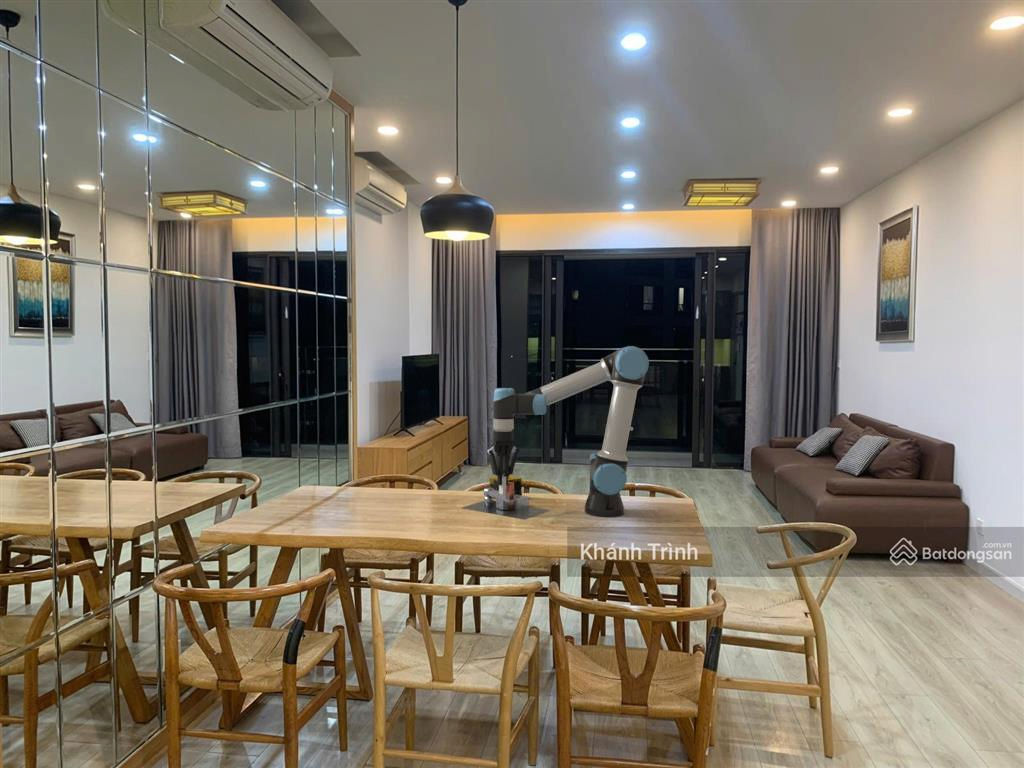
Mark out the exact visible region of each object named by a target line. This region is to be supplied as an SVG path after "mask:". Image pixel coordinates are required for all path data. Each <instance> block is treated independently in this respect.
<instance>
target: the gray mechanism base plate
mask: <svg viewBox="0 0 1024 768" xmlns="http://www.w3.org/2000/svg"><path fill="white" fill-rule="evenodd" d="M514 498H515V509H512V510H502V509H499V508H497V507H496V500H494V498H493V497H492V496H485V495H484V500H483V501H479V502H477V503H476V502H475V503H472V504H470V505H466V506H462V507H461V509H463V510H469V511H474V512H475V511H476V512H480V513H484V514H491V515H496V516H501V517H507V518H512V519H517V520H518V519H520V520H524V521H525V520H528V519H531V518H533V517H537V516H540V515H541V514H544V513H547V512H550V511H551V509H546V508H539V507H533V506H529V505H530V496H527V495H523V494H522V495H516V494H514Z"/></svg>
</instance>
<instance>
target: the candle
mask: <svg viewBox="0 0 1024 768" xmlns="http://www.w3.org/2000/svg"><path fill="white" fill-rule="evenodd" d="M522 481H523V478H522V477H518V476H516V475H513V474H510V476H509V477H508V482H513V483H514V494H516V495H522V496H523V491H522V490H523V489H522V487H523V485H522ZM489 488H494V490H496V491H499V485H498V484H497V475H494V476H490V477H489ZM493 500H496V498H495V497H493Z"/></svg>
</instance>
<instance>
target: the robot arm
mask: <svg viewBox="0 0 1024 768" xmlns="http://www.w3.org/2000/svg"><path fill="white" fill-rule="evenodd" d="M649 361H650V360H649V357H648V355H647V354H646V352H645V351H644V350H643V349H641V348H639V347H637V346H633V345H628V346H623V347H621V348H619V349H617V350H616V351H614V352H612V353H610V354H608V355H607V356H605V357H602V358H601V359H600V362H598V363H595V364H592V365H591V366H588V367H585V368H583V369H580V370H579V371H575V372H574V373H570V374H569V375H567V376H564V377H562V378H560V379H557V380H554V381H552V382H550V383H548V384H546V385H543V386H540V387H538V388H536V389H533V390H530V391H527V392H524V393H515V389H514V388H512V387H508V388H507V387H501V388H500V387H497V388H496V389H494V391H493V408H492V409H493V418H492V419H493V424H492V425H493V428H492V429H494V430H493V432H492V441H493V443H492V446H491V448H489V449H488V448H487V449H486V453H487V454H488V458H489V462H490V466H491V472H492V475H494V476H497V484H498V485H499V493H500V494H502V495H504V494H506V485H507V484H508V477H509V476H510V475H513V473H514V470H515V465H516V461H517V455H518V454H519V452H520V449H519V447H516V446H515V444H514V433H515V432H514V429H515V428H514V427H515V424H514V422H515V421H514V418H515V415H533V416H539V415H541V416H543V415H546V414H547V406H550V405H552V404H555V403H557V402H559V401H563V400H565V399H567V398H569V397H571V396H574V395H576V394H579V393H581V392H583V391H586V390H588V389H590V388H592V387H595V386H598V385H600V384H602V383H605V382H607V381H608V382H611V383H612V384H613V388H612V389H613V390H612V394H611V400H610V405H609V410H608V415H607V420H606V422H607V423H606V425H605V432H604V436H603V442H602V446H601V450H599V451H598V452H595V453H591V454H590V455H589V460H588V461H589V490H588V491H589V492H588V496H587V498H586V502H585V504H584V513H586V514H587V515H591V516H596V517H608V518H609V517H610V518H611V517H612V518H613V517H619V516H622V515H624V514H625V506H624V503H623V499H622V497H621V492H622V491H623V489H624V488H625V487H626V484H627V481H628V479H627V478H628V476H627V469H628V464H629V458H628V457H627V455H626V452H627V448H628V447H627V446H628V441H629V435H630V431H631V426H632V420H633V415H634V410H635V406H636V400H637V395H638V391H639V389H640V388H642V387H643V386H644V381H645V376H646V373H647V372H648V369H649V365H650V362H649Z"/></svg>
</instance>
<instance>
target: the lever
mask: <svg viewBox="0 0 1024 768" xmlns="http://www.w3.org/2000/svg"><path fill="white" fill-rule="evenodd" d="M483 496H484V497H485V496H492V497H495V498H496V499H495V501H496V507H497V508H499V509H502V510H506V509H507V504H508V502H514V483H513V482H508V484H507V485H506V494H504V495H502V494H500V493H499V491H496V490H494V488H490V487H484V488H483Z"/></svg>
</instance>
